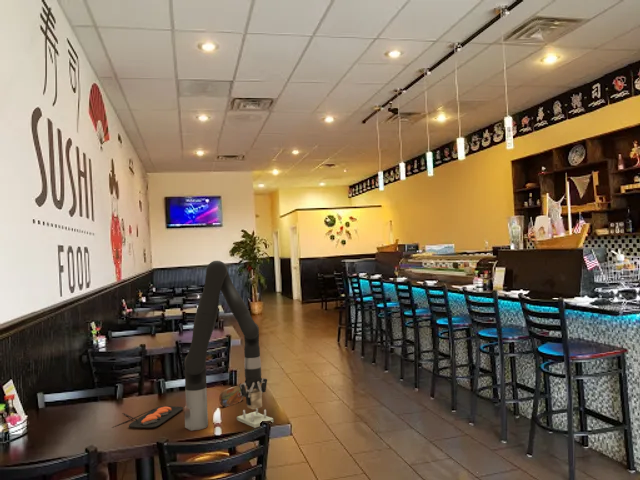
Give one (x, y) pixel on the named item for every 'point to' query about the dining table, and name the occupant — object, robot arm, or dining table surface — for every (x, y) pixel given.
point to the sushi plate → (153, 417)
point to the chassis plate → (254, 418)
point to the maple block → (255, 399)
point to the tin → (230, 396)
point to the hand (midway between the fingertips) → (254, 403)
